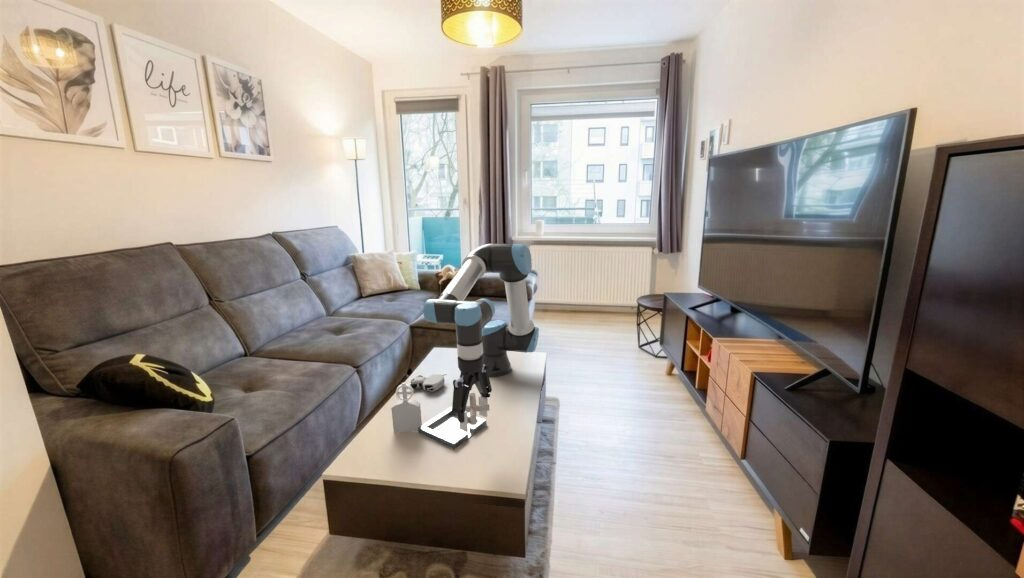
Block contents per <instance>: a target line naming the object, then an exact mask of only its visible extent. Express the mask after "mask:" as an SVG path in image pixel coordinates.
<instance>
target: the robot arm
mask: <svg viewBox="0 0 1024 578" xmlns="http://www.w3.org/2000/svg"><path fill="white" fill-rule="evenodd" d="M532 261H533V259H532V255H531V251H530V249H529V247H528V246H527V245H526V244H521V243H520V244H519V243H485V244H483V245H480V246H478V247H477V248H475V249H473V250H472V251H470V252H468V254H467V255H466V256H465V257H464V259H463V260H462V262H461V267H460V269H459V270H458V271H457V273H456V274H455V275H454V276H453V278H452V279H451V280H450V282H449V283H448V284H447V286H446V287H445V289H443V291H442V292H441V293H440V295H439V296H438V298H431V299H429V298H428V299H427V300H426V301H425V302H424V303H423V307H422V314H423V318H424V319H425V321H426V322H429V323H435V324H448V325H449V324H452V325H455V335H456V349H457V350H456V351H457V367H458V369H459V371H460V373H459V374H460V375H459V378H458V379H453V381H452V385H453V392H452V406H451V407H452V412H454V413H457V414H458V421H459V424H460V430H463V431H465V432H467V431H468V419H467V413H468V412H467V411H465V409H466V406H468V405H467V404H468V400H469V394H470V393H471V391H472V389H473V386H474V385H475V387H476V389H477V390H478V393H479V394H480V395H479V396H478V405H488V398H490V397H491V393H492V391H493V389H492V385H491V380H490V377H501V376H505V375H507V374H509V372H511V370H512V369H511V368H512V366H511V362H510V360H509V356H508V353H507V352H520V353H534V352H535V351H536V349H537V345H538V341H539V340H538V339H539V334H540V333H539V332H540V330H539V329H540V328H539V326H535V323H534V322H533V320H531V317H530V310H529V301H528V300H529V299H528V291H527V284H526V279H527V278H528V276H529V274H531V272H532V267H533V263H532ZM487 273H488V274H490V273H492V274H499V278H500V281H502V282H504V283H503V284H504V287H505V295H506V300H507V308H508V315H509V320H510V322H509V323H508V324H507V322H506V321H505V320H502V319H495V320H492V318H493V317H494V315H495V313H496V308H495V305H494V303H493V302H492V301H491V300H490V299H488V298H485V297H484V298H479V299H477V300H472V301H471V300H465V299H466V297H467V296H468V295H469V293H470V292H471V290H472V288H473V287H474V285H475V284H476V282H477V281H478V279H479V278H482V277H483V276H484V275H485V274H487ZM478 414H479V416H482V417H483V418H487V417H488V411H478Z"/></svg>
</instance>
